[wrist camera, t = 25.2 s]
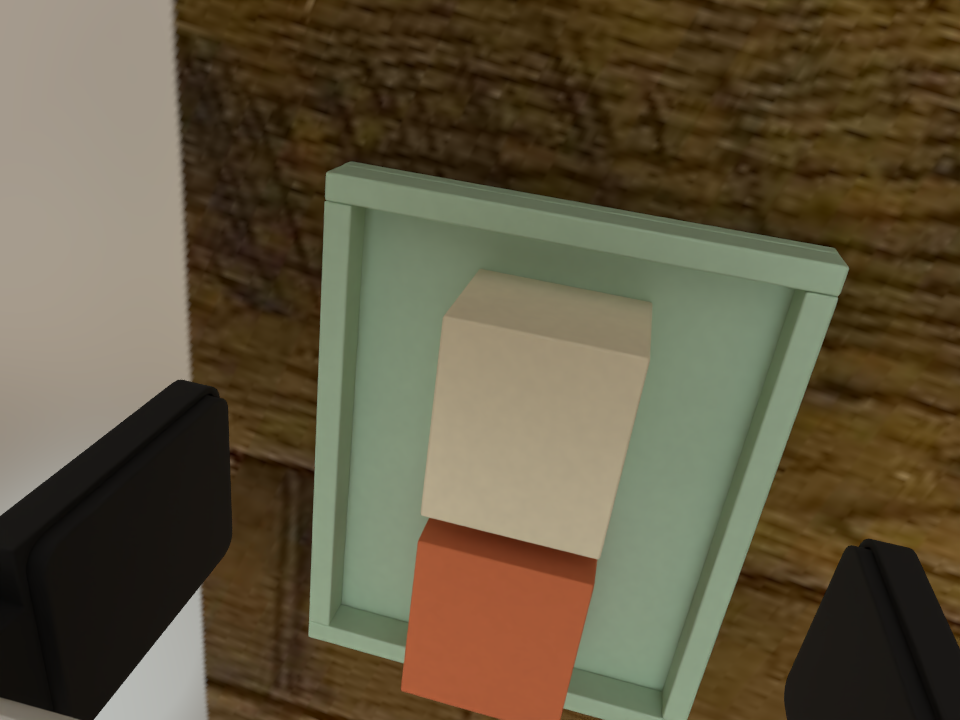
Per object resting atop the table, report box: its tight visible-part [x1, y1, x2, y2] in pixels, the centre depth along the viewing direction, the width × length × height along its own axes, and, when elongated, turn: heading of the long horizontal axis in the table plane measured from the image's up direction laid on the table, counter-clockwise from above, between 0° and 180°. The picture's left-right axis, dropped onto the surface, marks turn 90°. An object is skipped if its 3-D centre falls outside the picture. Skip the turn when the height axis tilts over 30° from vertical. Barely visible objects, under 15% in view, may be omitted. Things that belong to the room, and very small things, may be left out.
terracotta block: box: [401, 518, 597, 720], centre depth 24 cm, size 6×5×4 cm
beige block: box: [421, 269, 653, 559], centre depth 21 cm, size 6×5×4 cm
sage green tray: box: [309, 161, 849, 720], centre depth 24 cm, size 17×14×2 cm
